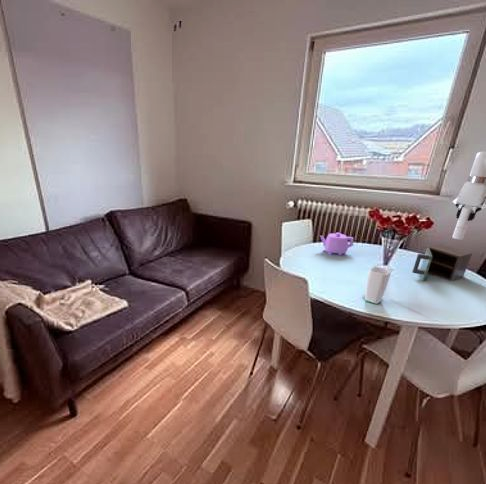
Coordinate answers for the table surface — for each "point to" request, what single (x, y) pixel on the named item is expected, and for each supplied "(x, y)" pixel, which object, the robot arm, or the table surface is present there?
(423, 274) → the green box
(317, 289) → the table surface
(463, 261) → the cupboard
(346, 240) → the teapot
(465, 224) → the tube
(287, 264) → the table surface
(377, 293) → the cup
